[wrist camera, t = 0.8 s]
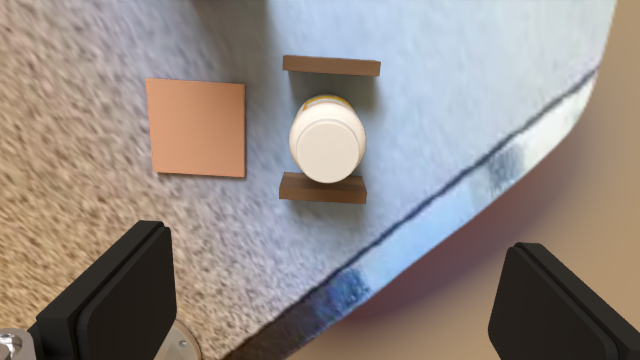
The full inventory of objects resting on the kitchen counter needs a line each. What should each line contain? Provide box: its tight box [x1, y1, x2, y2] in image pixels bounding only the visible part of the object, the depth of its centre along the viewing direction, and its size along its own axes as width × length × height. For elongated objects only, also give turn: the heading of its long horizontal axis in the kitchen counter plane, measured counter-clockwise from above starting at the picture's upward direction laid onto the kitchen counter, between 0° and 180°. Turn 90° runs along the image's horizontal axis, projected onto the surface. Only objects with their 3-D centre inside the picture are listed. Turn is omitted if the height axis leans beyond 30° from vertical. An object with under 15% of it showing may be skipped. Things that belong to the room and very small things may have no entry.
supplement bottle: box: [289, 94, 366, 183], centre depth 28 cm, size 5×5×10 cm
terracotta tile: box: [145, 78, 245, 177], centre depth 33 cm, size 8×8×1 cm
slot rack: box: [279, 55, 381, 204], centre depth 31 cm, size 11×7×4 cm, turn 176°
